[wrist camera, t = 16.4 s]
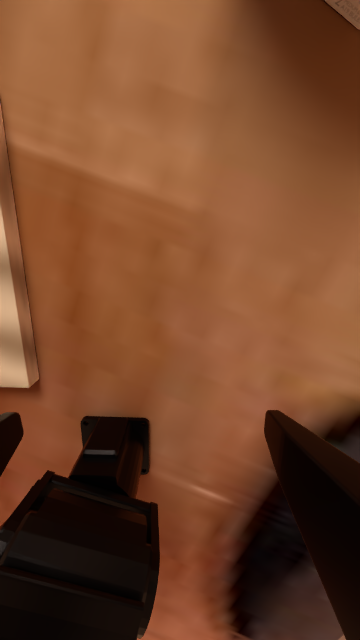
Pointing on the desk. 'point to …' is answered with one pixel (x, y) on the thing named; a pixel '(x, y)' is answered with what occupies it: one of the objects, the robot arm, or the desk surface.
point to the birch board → (13, 290)
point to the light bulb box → (347, 10)
